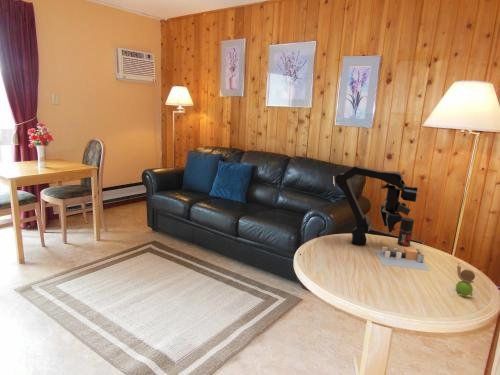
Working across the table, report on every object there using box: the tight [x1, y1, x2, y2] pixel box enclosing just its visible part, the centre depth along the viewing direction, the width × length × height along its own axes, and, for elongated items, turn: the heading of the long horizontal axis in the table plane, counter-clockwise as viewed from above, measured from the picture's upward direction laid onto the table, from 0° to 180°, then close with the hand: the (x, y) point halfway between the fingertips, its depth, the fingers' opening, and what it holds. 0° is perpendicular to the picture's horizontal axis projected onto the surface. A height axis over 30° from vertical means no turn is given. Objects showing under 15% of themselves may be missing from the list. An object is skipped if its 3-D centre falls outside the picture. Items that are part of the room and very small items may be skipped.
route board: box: [374, 249, 431, 272], centre depth 157 cm, size 20×18×1 cm
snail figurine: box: [455, 262, 476, 296], centre depth 129 cm, size 5×6×12 cm
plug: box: [389, 247, 418, 260], centre depth 159 cm, size 14×4×4 cm, turn 81°
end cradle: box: [412, 247, 425, 263], centre depth 158 cm, size 2×8×4 cm, turn 171°
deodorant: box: [397, 216, 415, 248], centre depth 175 cm, size 6×6×15 cm
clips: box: [381, 246, 403, 260], centre depth 160 cm, size 7×6×3 cm
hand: (387, 229), depth 165 cm, fingers open, 9 cm apart
